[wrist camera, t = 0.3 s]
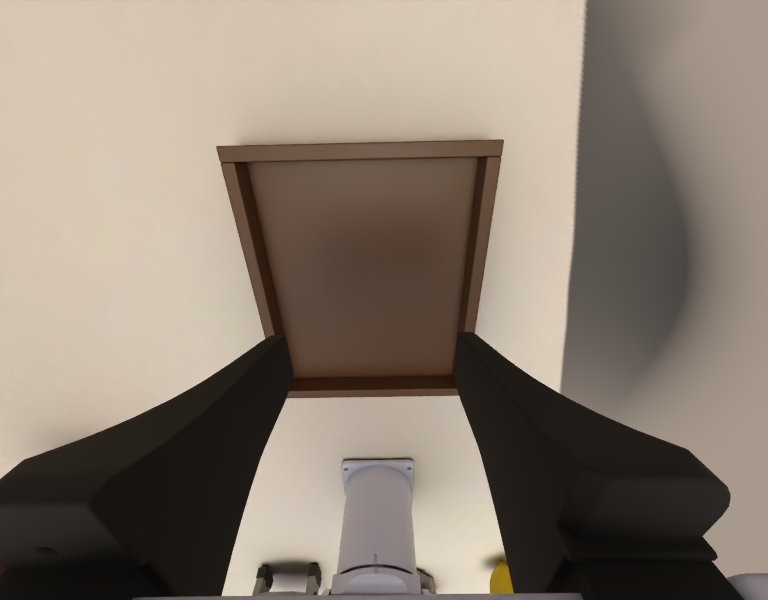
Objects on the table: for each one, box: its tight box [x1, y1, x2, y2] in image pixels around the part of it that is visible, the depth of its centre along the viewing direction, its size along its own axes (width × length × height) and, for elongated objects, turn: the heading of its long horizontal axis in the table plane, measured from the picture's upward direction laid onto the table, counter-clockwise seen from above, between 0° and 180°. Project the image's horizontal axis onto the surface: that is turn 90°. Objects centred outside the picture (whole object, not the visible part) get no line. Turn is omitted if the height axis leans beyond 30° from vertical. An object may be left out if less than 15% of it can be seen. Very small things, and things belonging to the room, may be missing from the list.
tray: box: [216, 140, 504, 398], centre depth 20 cm, size 19×16×2 cm
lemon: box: [490, 561, 514, 594], centre depth 38 cm, size 6×6×8 cm
